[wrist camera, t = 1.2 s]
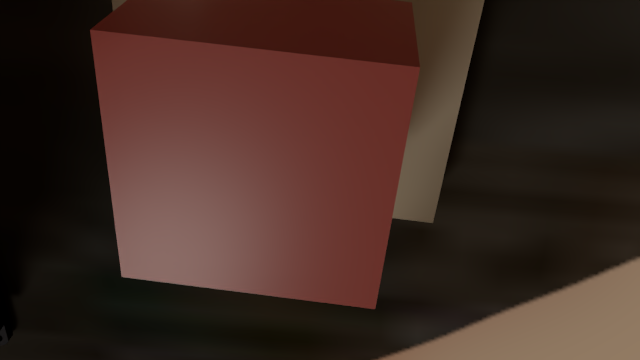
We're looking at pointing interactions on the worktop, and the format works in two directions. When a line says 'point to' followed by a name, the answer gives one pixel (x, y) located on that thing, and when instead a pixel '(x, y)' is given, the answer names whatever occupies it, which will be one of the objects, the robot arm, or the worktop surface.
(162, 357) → the worktop surface
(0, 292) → the robot arm
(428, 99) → the post stand
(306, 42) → the red cuboid block
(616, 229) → the worktop surface
